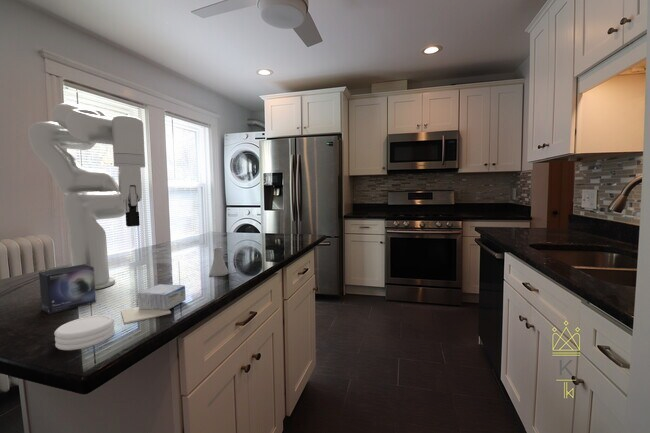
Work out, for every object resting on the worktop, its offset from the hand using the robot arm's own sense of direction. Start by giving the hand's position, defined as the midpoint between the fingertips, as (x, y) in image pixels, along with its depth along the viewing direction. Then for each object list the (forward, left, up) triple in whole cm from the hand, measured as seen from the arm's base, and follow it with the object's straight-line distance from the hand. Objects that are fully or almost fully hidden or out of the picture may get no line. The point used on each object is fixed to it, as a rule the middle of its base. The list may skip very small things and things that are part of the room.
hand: (132, 225), depth 89 cm
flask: (-11, +27, -22) cm, 36 cm away
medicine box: (+9, +2, -19) cm, 21 cm away
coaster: (+23, -12, -22) cm, 34 cm away
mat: (+14, 0, -21) cm, 26 cm away
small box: (-5, -16, -22) cm, 27 cm away
